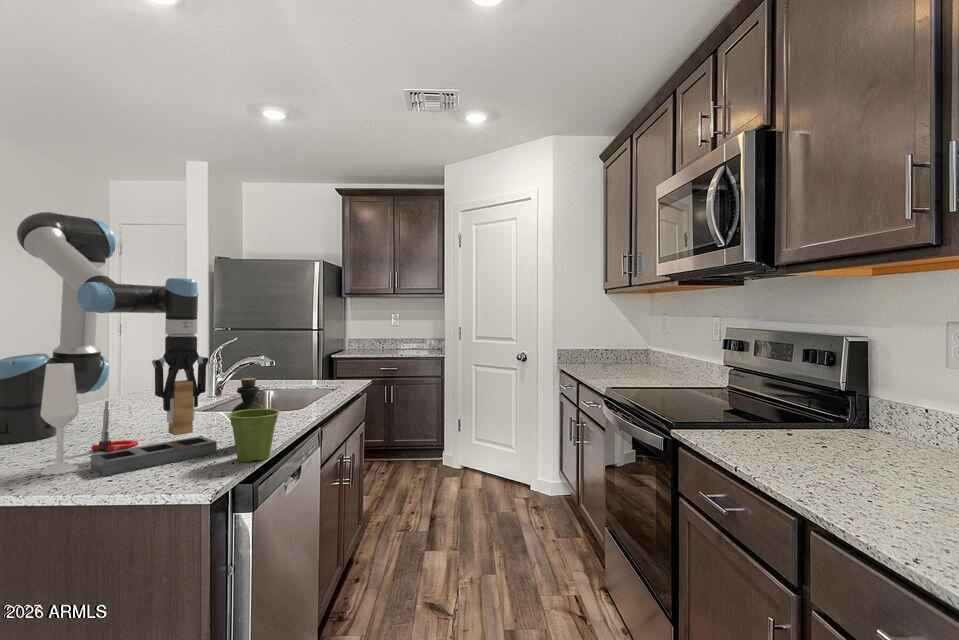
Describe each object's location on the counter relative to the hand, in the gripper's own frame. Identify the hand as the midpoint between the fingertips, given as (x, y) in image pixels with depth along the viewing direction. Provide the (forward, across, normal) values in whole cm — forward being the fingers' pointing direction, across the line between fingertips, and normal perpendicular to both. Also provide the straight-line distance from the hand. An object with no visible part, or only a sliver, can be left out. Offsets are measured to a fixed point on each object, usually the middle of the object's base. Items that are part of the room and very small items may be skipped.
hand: (180, 420), depth 138 cm
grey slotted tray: (+6, -10, -12) cm, 17 cm away
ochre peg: (+3, 0, 0) cm, 3 cm away
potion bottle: (+6, +11, -15) cm, 20 cm away
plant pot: (+6, +6, -28) cm, 30 cm away
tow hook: (+7, -12, +10) cm, 17 cm away
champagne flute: (+7, -27, -4) cm, 28 cm away
